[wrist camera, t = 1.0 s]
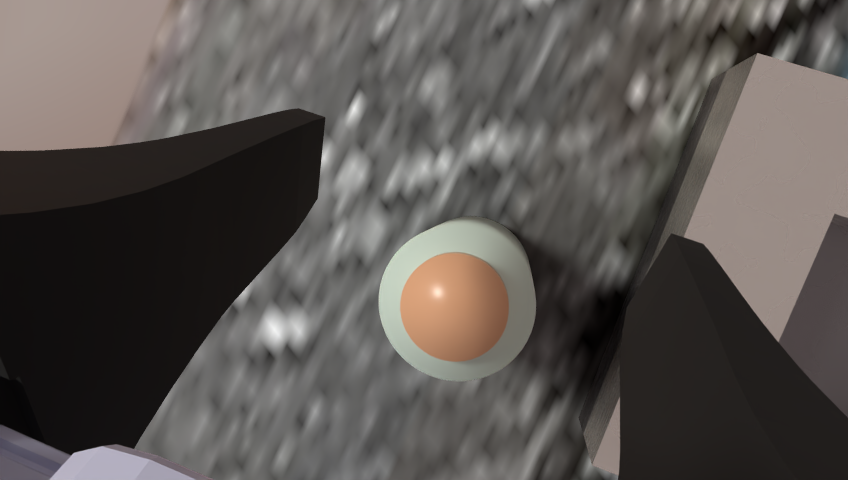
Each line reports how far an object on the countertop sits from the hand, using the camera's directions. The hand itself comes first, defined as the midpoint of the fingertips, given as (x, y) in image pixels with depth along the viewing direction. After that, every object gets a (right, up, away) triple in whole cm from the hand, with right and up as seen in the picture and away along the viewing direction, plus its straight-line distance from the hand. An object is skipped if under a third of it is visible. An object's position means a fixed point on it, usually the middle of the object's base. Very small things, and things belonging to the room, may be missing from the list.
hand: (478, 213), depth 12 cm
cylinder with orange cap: (+1, -2, +12) cm, 12 cm away
